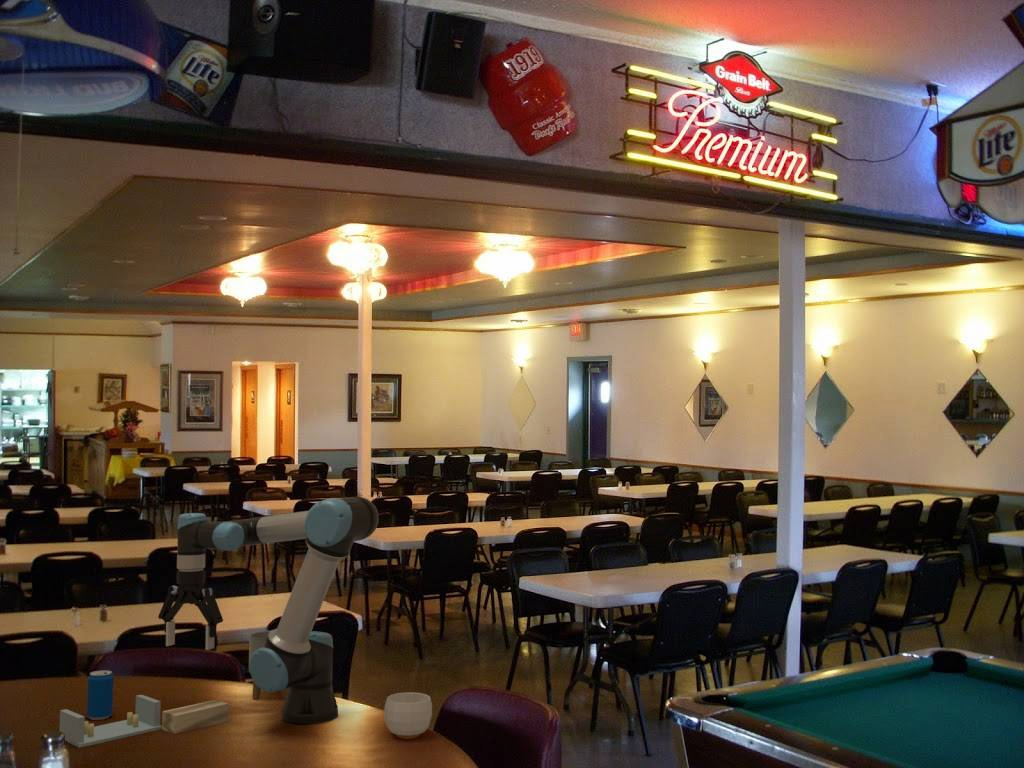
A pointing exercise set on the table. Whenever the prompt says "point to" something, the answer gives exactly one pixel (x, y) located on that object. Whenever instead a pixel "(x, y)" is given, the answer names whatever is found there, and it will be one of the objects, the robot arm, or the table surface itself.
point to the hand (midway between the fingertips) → (189, 647)
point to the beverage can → (100, 695)
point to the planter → (255, 643)
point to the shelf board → (194, 716)
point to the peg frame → (111, 724)
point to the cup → (408, 714)
